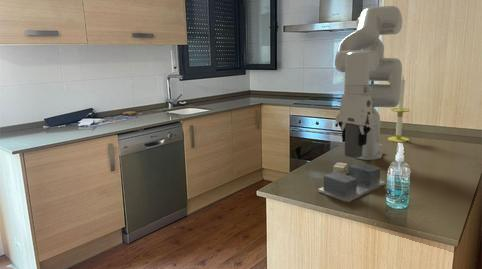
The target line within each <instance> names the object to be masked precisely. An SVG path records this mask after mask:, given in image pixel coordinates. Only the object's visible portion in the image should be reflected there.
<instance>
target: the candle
mask: <svg viewBox="0 0 482 269" xmlns="http://www.w3.org/2000/svg"><path fill="white" fill-rule="evenodd" d="M405 82H406V80H405V78H404V75H402V78H401V92H400V101H399V104H398V105H397V108H396V107H392V108H391V111H392V112H395V113H397V115H396V116H397V118H396V129H395V130H396V131H395V136H390V137H387V140H388V141H390V142H395V143H407V142H406V141H408V142H409V141H410V139H409V138H408V137H404V136H402V133H403V132H402V130H403V116H404V113H408V112H410V111H411V110H410V108H409V109H408V108H404V100H405V99H404V97H405V85H406V83H405Z"/></svg>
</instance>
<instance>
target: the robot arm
mask: <svg viewBox="0 0 482 269" xmlns="http://www.w3.org/2000/svg"><path fill="white" fill-rule="evenodd" d="M402 27H403V16H402V12H401V10H400V9H399V7H397V6H394V5H385V6H370V7H367V8H364V9H363V10H362V11H361V12H360V14H359V17H358V18H357V20H356V29H355V31H354V32H352V33H350V34H348V35H347V36H346V37H344V38H343V39H342V40H341V41H340V43H339V45H338V47H337V50H336V53H335V59H334V66H335V69H336V71H338V72H340V73H344V88H343V89H344V91H343V93H342V97H341V100H340V104H339V105H340V107H339V113H338V114H337V116H336V117H334V120H335V121H336V123H337V125H338V126H339V127H340V130H341V132H342V133H341V138H342V139H341V141H342V143H345V128H346V124H349V123H350V124H354V125H358V126H359V128H360V132H361V134H360V135H359V146H363V150H362V156H361V157H354V158H355V159H359V160H363V161H364V160H365V161H375V160H380V159H381V158H382V157H383V154H382V152H380V151H379V150H380V149H383V147H384V145H383V144H382V143H380V131H381V130H380V127H381V115H380V114H379V112H378V110H377V109H376V108H396V107H398V105H399V101H400V92H401V79H402V76H403V65H402V64H403V63H402V62H401V60H400V59H399V58H395V57H384V54H385V45H384V43H383V42H382V40H381V39H380V36H384V35H385V36H389V35H391V36H392V35H397V34H399V33H400V32H401V30H402V29H403V28H402ZM370 82H388V83H389V84H383V83H381V84H379V83H370ZM348 118H352V119H354V122H352V121H348Z"/></svg>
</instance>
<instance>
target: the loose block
mask: <svg viewBox="0 0 482 269" xmlns="http://www.w3.org/2000/svg"><path fill="white" fill-rule="evenodd" d="M332 167H333V168H332V172H338V173H341V174H345V175H348V163H344V162H336V163H335V164H334V165H333V166H332Z"/></svg>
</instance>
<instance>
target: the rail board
mask: <svg viewBox="0 0 482 269" xmlns="http://www.w3.org/2000/svg"><path fill="white" fill-rule="evenodd" d="M385 184H386V182H385V181H383V180H381V167H377V166H373V165H370V164H365V163H362V162H360V161H359V162H355V163H353V164H351V165H348V169H347V174H346V175H345V174H341V173H338V172H333V171H332V172H330V173H328V174H325V175H323V186H322V187H319V188H317V193H321V194H323V195H325V196H326V195H327V196H328V197H332V198H334V199H337V200H340V201H342V202H345V203H351V201H353V200H356V199H358V198H360V197H362V196H364V195H366V194H368V193H371V192H373V191H374V190H376V189H379V188H380V187H382V186H384V185H385Z"/></svg>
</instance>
